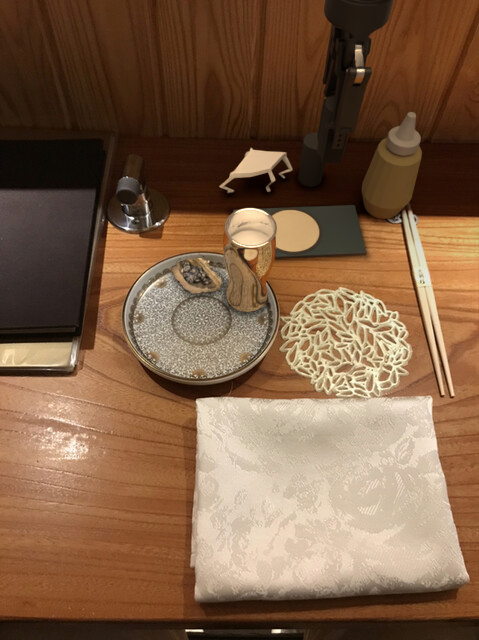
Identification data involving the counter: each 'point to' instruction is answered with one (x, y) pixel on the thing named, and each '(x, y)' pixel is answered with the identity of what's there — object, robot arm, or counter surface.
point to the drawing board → (317, 231)
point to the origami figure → (258, 166)
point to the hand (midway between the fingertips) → (329, 149)
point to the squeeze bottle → (393, 171)
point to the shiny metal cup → (249, 257)
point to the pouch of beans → (196, 275)
